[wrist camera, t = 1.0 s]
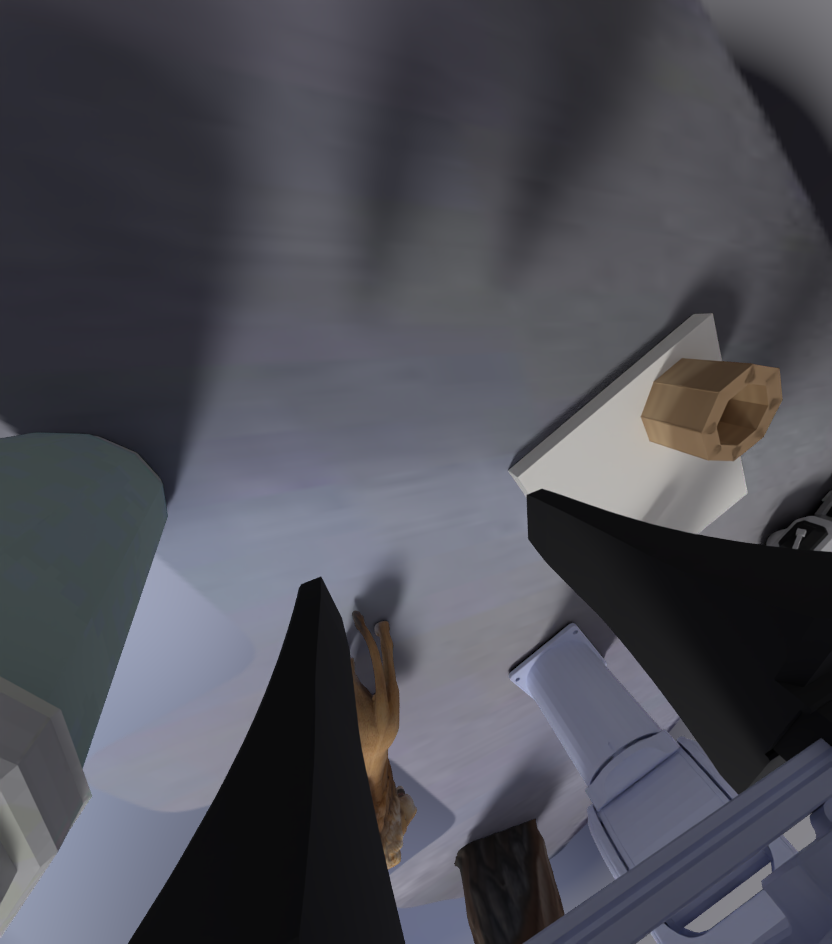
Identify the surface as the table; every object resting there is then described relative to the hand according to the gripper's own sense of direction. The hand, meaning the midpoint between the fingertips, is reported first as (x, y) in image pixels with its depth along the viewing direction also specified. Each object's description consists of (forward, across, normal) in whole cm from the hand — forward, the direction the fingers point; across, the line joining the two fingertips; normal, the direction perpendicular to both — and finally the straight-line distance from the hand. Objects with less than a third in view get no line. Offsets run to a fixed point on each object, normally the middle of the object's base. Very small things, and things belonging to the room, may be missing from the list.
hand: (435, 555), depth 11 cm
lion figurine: (+9, +6, +18) cm, 21 cm away
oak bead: (+8, -21, +3) cm, 23 cm away
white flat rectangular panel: (+9, -19, +10) cm, 23 cm away
